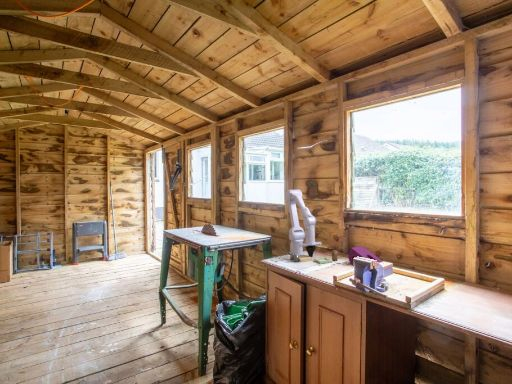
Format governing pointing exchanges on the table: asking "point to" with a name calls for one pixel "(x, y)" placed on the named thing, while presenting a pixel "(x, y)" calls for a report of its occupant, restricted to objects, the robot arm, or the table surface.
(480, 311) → the table surface
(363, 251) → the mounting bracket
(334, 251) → the dowel
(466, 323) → the table surface
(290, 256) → the dog
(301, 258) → the plate
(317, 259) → the tray
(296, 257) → the dog
